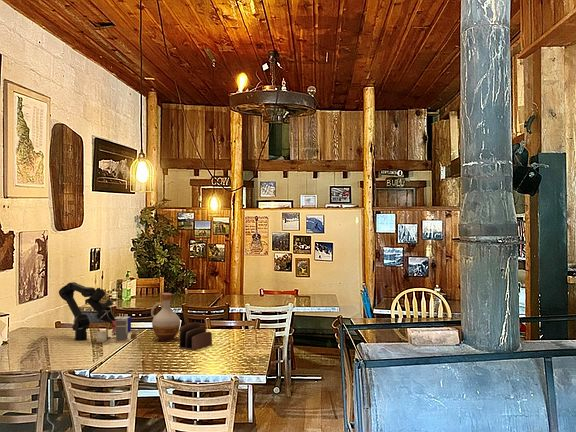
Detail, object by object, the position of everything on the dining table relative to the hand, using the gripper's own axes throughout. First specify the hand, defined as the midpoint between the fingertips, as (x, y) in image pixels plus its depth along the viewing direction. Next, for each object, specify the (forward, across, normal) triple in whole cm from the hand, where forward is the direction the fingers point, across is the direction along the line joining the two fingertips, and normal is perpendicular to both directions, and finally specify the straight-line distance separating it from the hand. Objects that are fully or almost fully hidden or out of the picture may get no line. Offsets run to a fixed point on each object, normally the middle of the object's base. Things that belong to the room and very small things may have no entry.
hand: (113, 321), depth 359 cm
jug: (+31, +2, -14) cm, 34 cm away
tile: (+12, 0, +5) cm, 13 cm away
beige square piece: (+3, +1, +14) cm, 15 cm away
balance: (+4, +9, +13) cm, 16 cm away
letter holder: (+46, -21, -29) cm, 59 cm away
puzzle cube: (+8, +32, +10) cm, 35 cm away
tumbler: (+12, 0, +4) cm, 12 cm away
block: (+17, +8, +1) cm, 18 cm away
